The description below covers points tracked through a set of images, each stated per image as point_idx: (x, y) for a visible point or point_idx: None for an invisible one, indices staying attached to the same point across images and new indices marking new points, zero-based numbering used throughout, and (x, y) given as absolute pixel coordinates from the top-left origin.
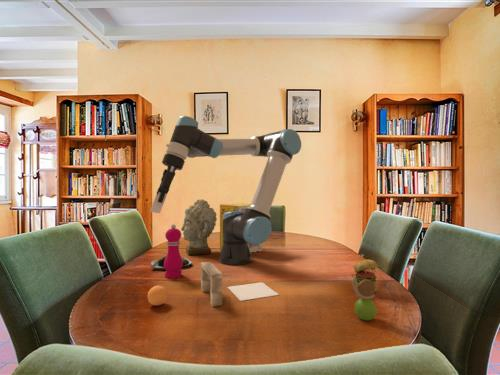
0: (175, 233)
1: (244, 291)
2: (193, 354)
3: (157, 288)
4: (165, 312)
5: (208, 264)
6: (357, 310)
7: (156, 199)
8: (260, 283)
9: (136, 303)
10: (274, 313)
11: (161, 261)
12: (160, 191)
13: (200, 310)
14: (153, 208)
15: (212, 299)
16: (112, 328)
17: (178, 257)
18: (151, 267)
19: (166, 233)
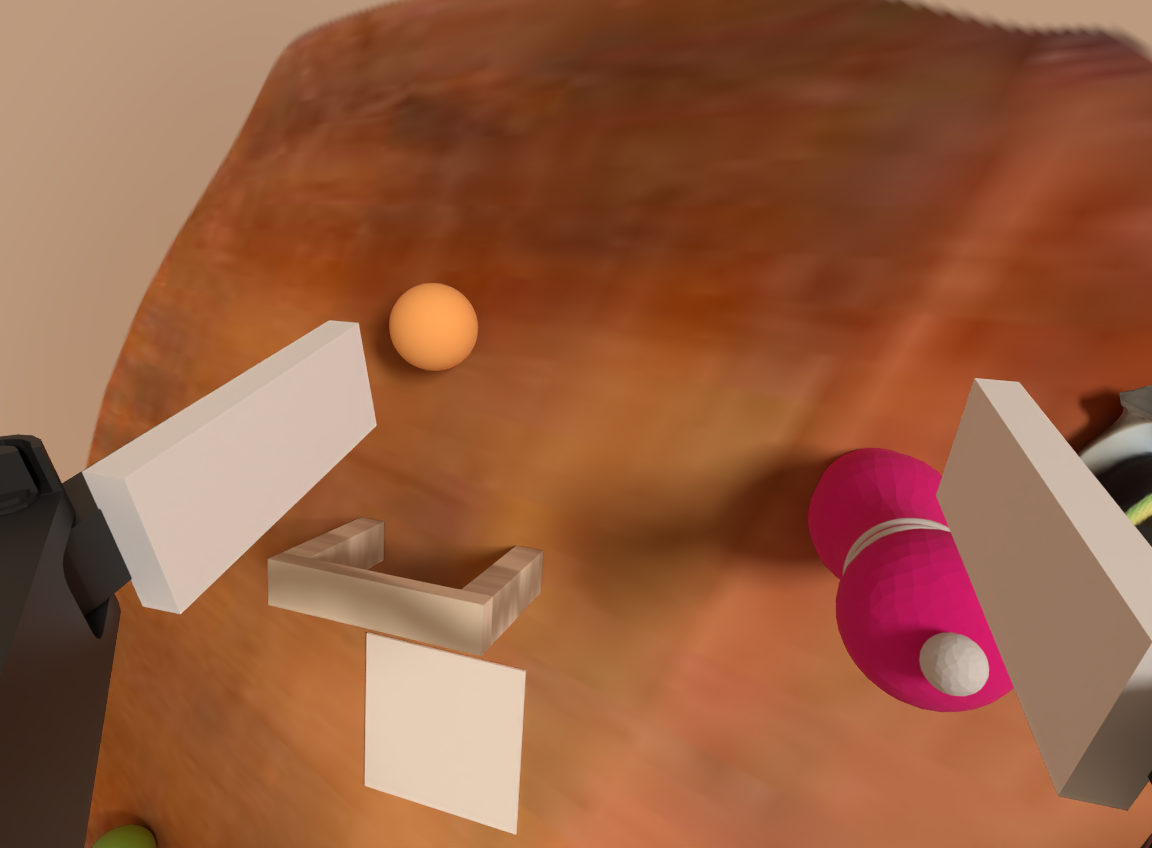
0: (845, 625)
1: (442, 699)
2: (133, 361)
3: (396, 324)
4: (376, 344)
5: (431, 623)
6: (117, 834)
7: (208, 400)
8: (503, 817)
9: (507, 241)
10: (249, 666)
11: (1136, 480)
12: (25, 493)
13: (347, 467)
14: (308, 342)
15: (343, 526)
16: (322, 151)
17: (838, 566)
18: (1133, 392)
19: (921, 547)
